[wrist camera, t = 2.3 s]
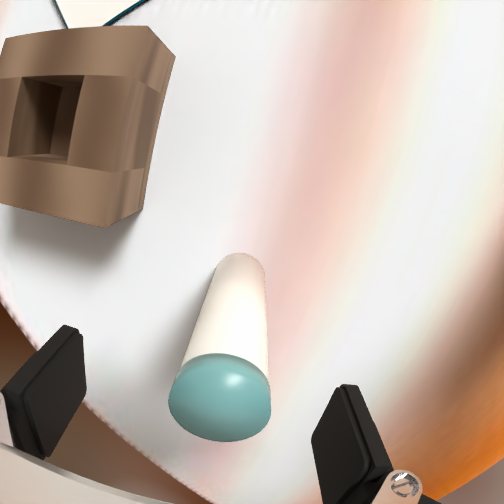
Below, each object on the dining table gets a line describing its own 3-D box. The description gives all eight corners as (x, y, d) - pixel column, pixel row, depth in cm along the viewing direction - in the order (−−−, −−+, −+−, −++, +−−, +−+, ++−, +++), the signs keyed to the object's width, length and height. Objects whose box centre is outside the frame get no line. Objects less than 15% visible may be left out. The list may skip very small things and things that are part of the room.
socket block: (175, 56, 17) (147, 25, 12) (142, 209, 20) (105, 228, 14) (51, 55, 16) (5, 38, 11) (27, 185, 19) (-23, 197, 14)
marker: (271, 258, 20) (283, 383, 9) (258, 304, 21) (257, 448, 10) (219, 247, 20) (172, 360, 9) (210, 293, 21) (165, 429, 10)
